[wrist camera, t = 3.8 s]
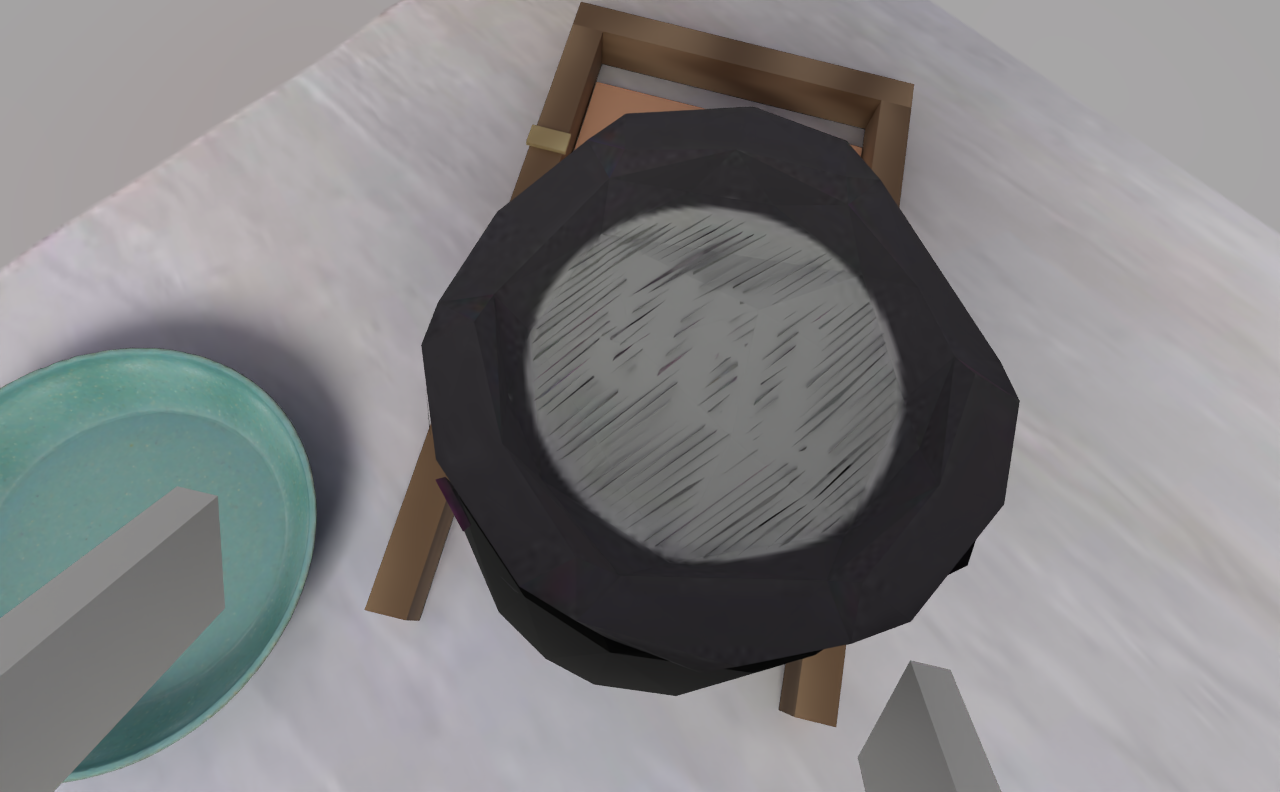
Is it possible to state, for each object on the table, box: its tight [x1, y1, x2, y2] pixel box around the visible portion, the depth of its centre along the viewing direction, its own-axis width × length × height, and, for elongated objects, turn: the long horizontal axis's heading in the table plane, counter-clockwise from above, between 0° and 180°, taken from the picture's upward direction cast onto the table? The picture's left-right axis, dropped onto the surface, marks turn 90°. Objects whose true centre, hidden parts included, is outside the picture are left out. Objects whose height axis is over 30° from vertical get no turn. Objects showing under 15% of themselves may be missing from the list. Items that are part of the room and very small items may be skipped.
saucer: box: [0, 348, 317, 783], centre depth 24 cm, size 15×15×3 cm
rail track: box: [365, 2, 914, 727], centre depth 29 cm, size 17×30×2 cm, turn 167°
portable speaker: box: [421, 107, 1020, 696], centre depth 18 cm, size 9×9×20 cm
